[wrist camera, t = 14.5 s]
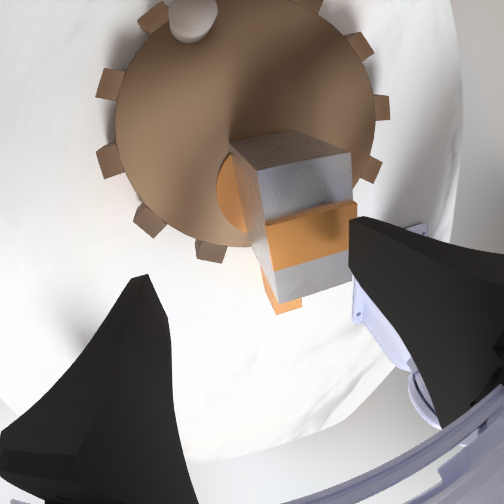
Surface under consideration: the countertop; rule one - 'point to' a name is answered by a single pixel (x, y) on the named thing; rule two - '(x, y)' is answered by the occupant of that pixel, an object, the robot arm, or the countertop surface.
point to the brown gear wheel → (231, 106)
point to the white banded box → (296, 210)
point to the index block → (276, 306)
